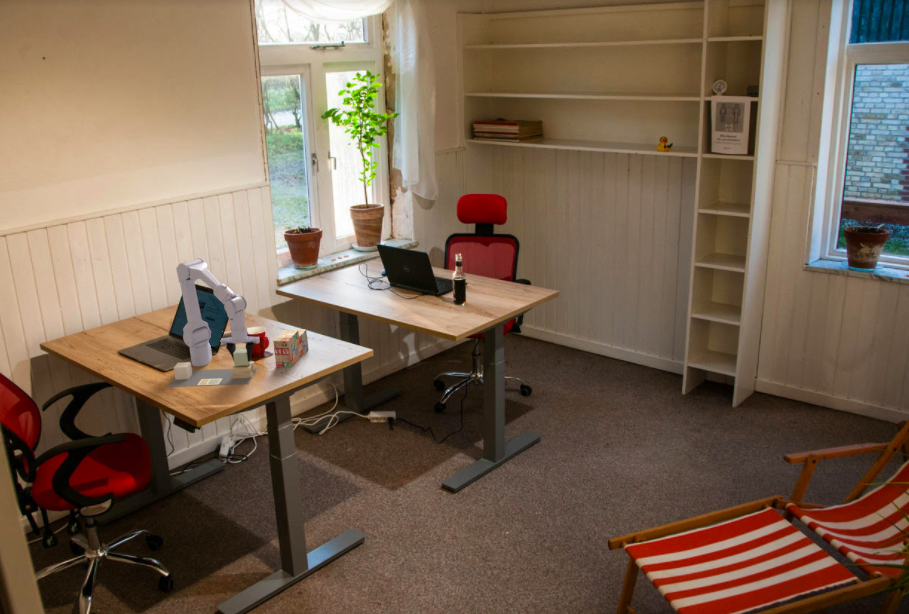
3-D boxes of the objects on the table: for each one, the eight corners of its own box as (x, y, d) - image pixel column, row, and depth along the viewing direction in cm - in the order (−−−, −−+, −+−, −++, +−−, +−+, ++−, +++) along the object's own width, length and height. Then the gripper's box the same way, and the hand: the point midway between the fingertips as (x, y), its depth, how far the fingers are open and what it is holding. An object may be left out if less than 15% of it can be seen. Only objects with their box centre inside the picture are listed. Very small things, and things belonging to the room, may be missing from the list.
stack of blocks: (294, 349, 330) (291, 322, 326) (308, 349, 329) (306, 322, 325) (276, 369, 310) (272, 340, 306) (291, 369, 309) (288, 340, 305)
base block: (237, 371, 306) (236, 362, 305) (255, 370, 306) (254, 361, 305) (233, 378, 299) (231, 368, 298) (251, 377, 299) (249, 368, 298)
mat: (180, 372, 309) (180, 370, 309) (258, 369, 309) (258, 367, 309) (166, 388, 294) (166, 387, 294) (248, 386, 294) (248, 384, 294)
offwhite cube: (179, 374, 305) (177, 362, 304) (192, 374, 305) (190, 362, 304) (175, 379, 300) (173, 367, 299) (188, 379, 300) (186, 367, 299)
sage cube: (238, 360, 304) (236, 348, 302) (250, 360, 304) (249, 348, 302) (234, 365, 299) (233, 353, 297) (247, 365, 299) (246, 353, 297)
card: (201, 379, 299) (201, 378, 299) (222, 379, 299) (222, 378, 299) (197, 385, 294) (197, 384, 294) (218, 385, 294) (218, 384, 294)
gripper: (216, 331, 293) (220, 365, 297) (254, 330, 293) (258, 364, 297) (221, 325, 300) (225, 358, 304) (259, 324, 300) (263, 357, 304)
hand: (242, 360), depth 301 cm, fingers closed on sage cube, 5 cm apart
